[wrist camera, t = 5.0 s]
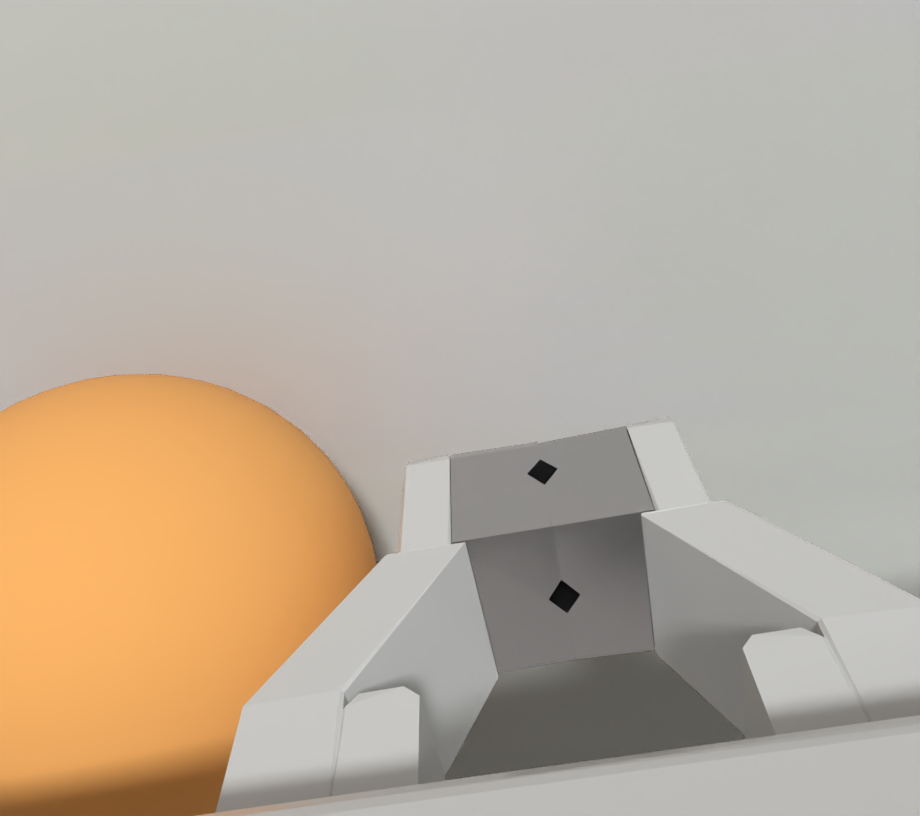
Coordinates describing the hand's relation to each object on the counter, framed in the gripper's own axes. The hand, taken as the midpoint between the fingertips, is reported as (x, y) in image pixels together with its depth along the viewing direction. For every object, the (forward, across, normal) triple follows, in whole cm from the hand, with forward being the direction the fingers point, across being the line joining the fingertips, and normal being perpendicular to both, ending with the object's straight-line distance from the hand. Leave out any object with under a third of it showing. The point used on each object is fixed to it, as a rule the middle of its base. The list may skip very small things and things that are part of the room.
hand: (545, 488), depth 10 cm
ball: (0, -5, 0) cm, 5 cm away
